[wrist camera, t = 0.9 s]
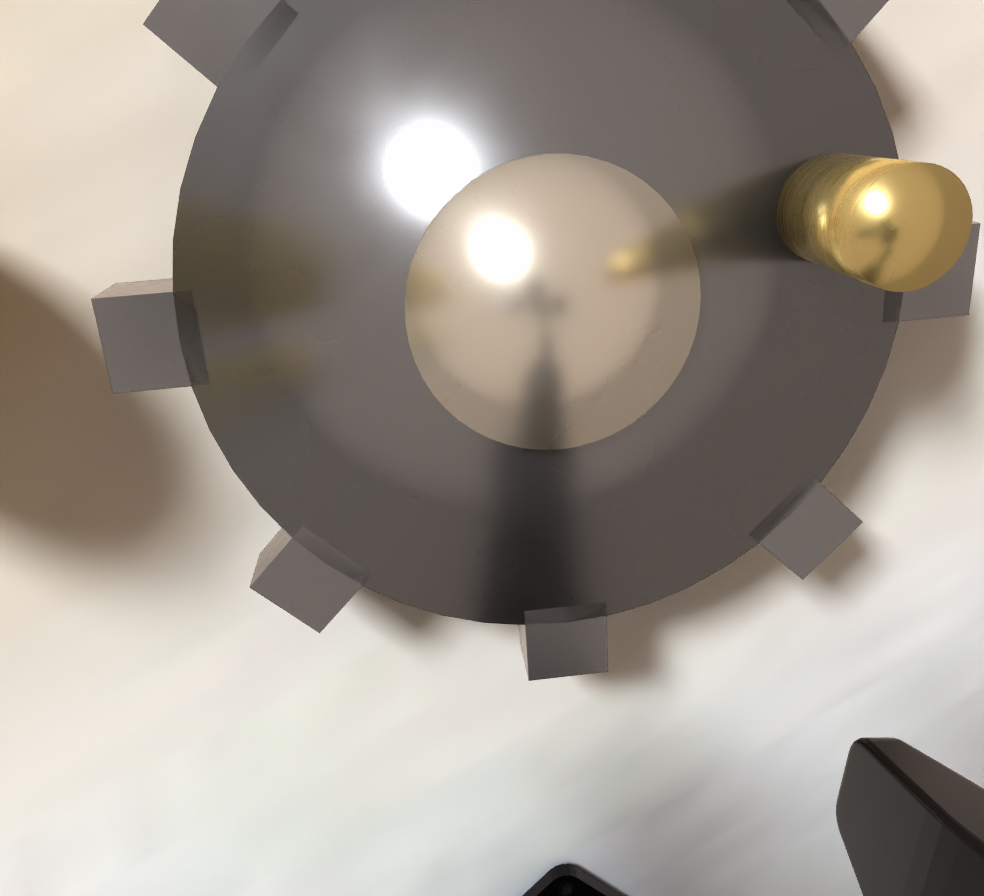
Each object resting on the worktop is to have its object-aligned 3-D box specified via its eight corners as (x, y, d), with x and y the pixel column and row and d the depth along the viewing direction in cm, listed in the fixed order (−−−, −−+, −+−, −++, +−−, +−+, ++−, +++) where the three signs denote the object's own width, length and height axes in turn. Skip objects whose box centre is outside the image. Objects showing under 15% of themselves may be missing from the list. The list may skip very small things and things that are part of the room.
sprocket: (1088, 243, 19) (1278, 283, 15) (563, 756, 23) (599, 902, 19) (504, -454, 14) (548, -684, 10) (-56, 343, 18) (-194, 417, 14)
